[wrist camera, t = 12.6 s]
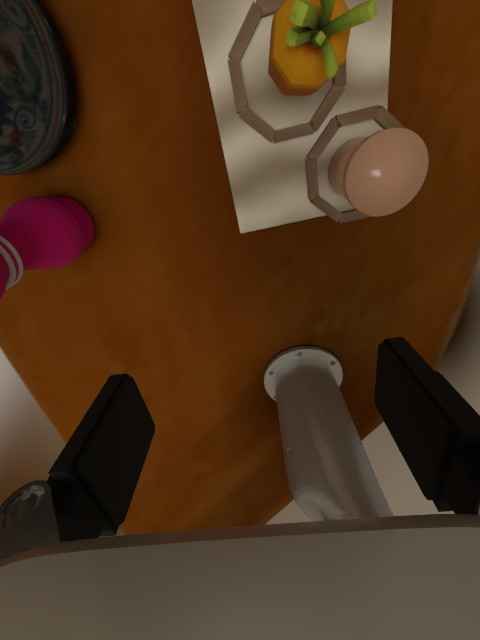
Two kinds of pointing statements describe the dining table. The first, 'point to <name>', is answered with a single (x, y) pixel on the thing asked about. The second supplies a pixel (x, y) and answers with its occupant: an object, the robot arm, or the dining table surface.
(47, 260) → the pepper mill
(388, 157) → the pink lidded jar
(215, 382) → the dining table surface
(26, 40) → the beer stein
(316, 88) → the carrot
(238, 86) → the stand
